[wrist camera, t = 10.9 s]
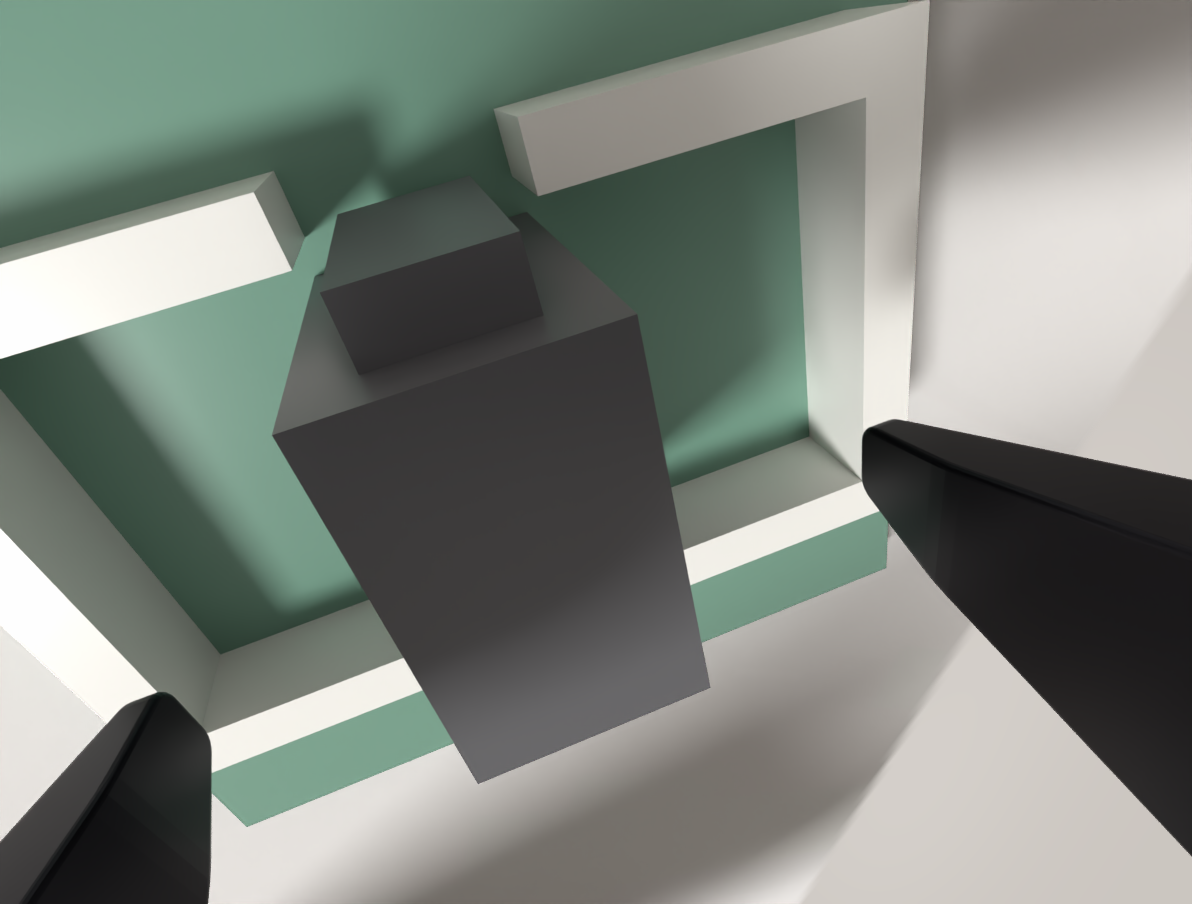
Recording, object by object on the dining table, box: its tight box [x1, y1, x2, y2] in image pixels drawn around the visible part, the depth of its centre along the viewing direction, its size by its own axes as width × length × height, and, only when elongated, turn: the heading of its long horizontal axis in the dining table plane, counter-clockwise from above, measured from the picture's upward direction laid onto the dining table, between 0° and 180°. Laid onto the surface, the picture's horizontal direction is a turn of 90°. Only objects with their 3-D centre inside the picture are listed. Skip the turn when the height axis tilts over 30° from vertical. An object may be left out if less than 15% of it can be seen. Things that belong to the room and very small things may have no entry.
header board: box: [0, 0, 930, 827], centre depth 12 cm, size 18×18×3 cm
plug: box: [272, 176, 710, 784], centre depth 10 cm, size 4×7×6 cm, turn 13°
